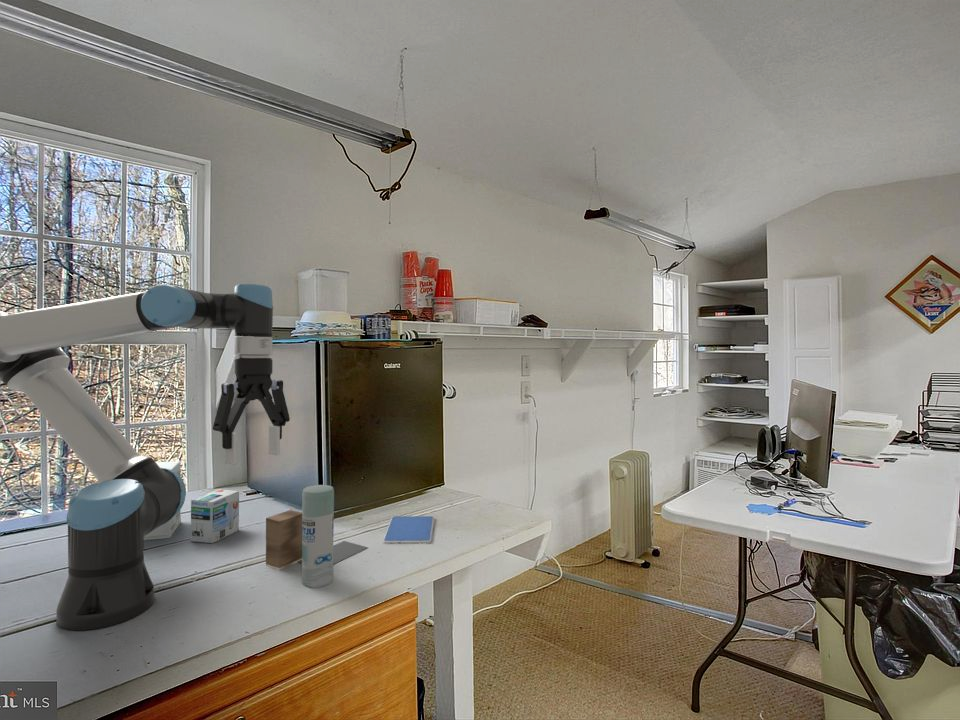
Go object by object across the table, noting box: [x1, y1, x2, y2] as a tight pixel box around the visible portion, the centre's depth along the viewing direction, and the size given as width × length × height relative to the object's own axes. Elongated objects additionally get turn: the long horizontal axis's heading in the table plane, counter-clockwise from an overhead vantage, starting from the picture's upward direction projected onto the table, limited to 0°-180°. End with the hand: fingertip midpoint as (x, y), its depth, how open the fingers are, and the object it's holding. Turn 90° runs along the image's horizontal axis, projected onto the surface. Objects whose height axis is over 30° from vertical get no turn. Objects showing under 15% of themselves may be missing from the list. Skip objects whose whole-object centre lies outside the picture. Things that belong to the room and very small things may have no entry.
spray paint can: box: [301, 484, 335, 589], centre depth 112 cm, size 6×6×20 cm
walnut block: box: [265, 509, 302, 571], centre depth 122 cm, size 7×4×11 cm, turn 150°
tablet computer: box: [382, 515, 435, 545], centre depth 144 cm, size 19×13×1 cm, turn 2°
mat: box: [297, 540, 369, 566], centre depth 126 cm, size 15×8×1 cm, turn 150°
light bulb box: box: [190, 489, 240, 544], centre depth 138 cm, size 11×7×11 cm, turn 168°
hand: (253, 459), depth 114 cm, fingers open, 10 cm apart
